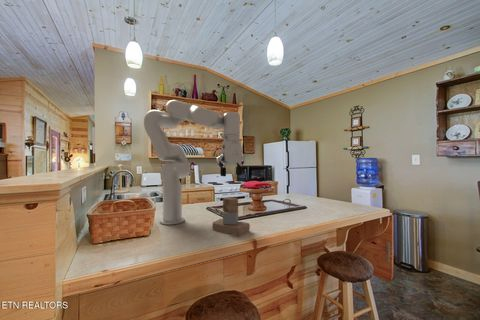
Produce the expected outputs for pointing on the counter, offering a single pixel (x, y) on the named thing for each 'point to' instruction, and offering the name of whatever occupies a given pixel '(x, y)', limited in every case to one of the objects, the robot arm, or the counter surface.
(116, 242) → the counter surface
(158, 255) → the counter surface
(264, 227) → the counter surface
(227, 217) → the slate block
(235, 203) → the walnut block
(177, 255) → the counter surface
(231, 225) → the brick
